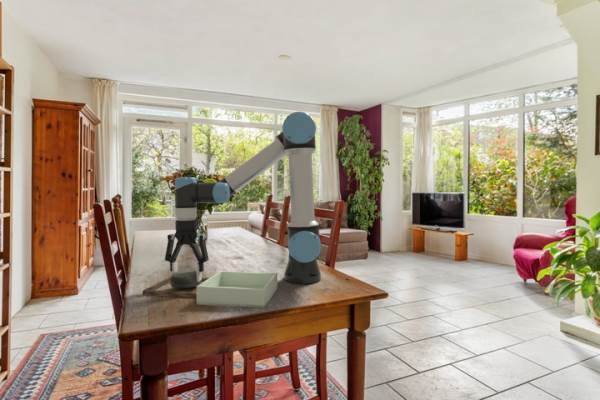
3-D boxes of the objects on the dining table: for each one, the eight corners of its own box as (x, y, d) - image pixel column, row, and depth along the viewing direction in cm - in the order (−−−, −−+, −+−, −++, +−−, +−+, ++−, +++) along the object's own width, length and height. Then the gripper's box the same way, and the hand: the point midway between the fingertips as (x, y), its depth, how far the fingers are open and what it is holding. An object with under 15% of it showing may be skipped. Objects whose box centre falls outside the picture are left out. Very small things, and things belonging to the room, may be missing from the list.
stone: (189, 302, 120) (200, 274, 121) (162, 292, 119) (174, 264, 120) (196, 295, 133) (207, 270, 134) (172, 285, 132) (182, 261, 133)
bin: (277, 288, 128) (277, 273, 127) (264, 308, 107) (264, 289, 107) (220, 286, 131) (220, 270, 130) (196, 304, 110) (196, 286, 110)
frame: (224, 282, 136) (224, 278, 136) (203, 298, 116) (203, 293, 116) (171, 279, 139) (171, 276, 139) (142, 294, 119) (142, 290, 119)
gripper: (217, 218, 129) (218, 278, 130) (164, 218, 132) (165, 276, 133) (210, 220, 122) (210, 283, 122) (153, 220, 124) (154, 282, 125)
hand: (187, 280), depth 127 cm, fingers closed on stone, 9 cm apart
